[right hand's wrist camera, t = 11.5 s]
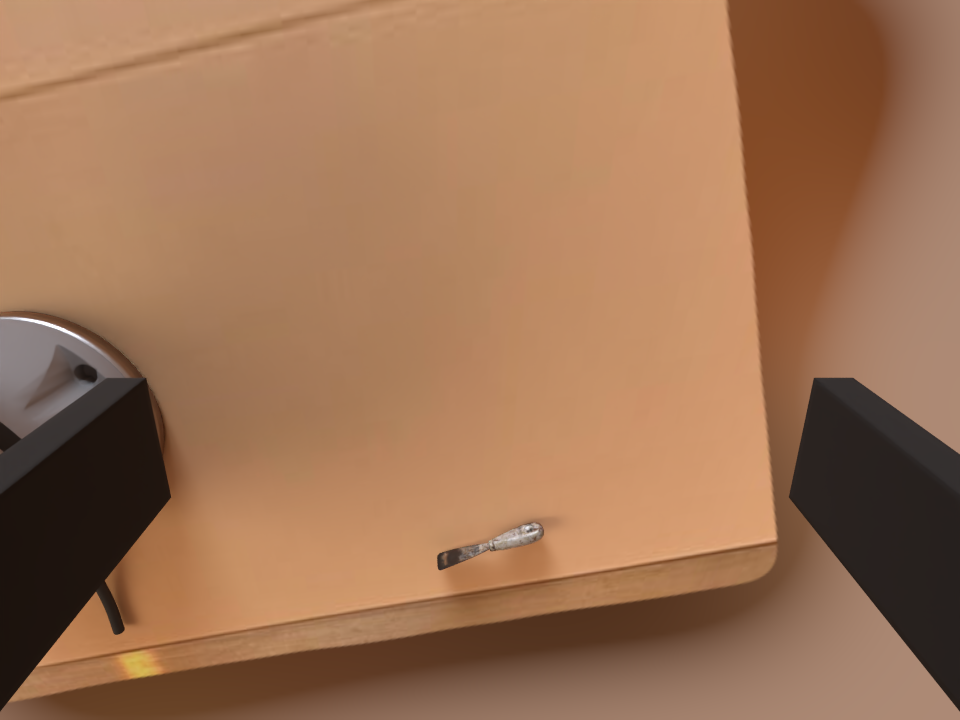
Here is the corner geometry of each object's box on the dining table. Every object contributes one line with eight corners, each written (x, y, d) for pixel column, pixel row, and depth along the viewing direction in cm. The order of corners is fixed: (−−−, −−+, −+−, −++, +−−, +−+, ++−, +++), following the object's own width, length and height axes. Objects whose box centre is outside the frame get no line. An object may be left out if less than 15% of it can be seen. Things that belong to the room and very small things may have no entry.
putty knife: (544, 528, 45) (546, 543, 44) (441, 561, 46) (440, 577, 45) (539, 517, 45) (541, 532, 44) (436, 550, 46) (434, 566, 45)
